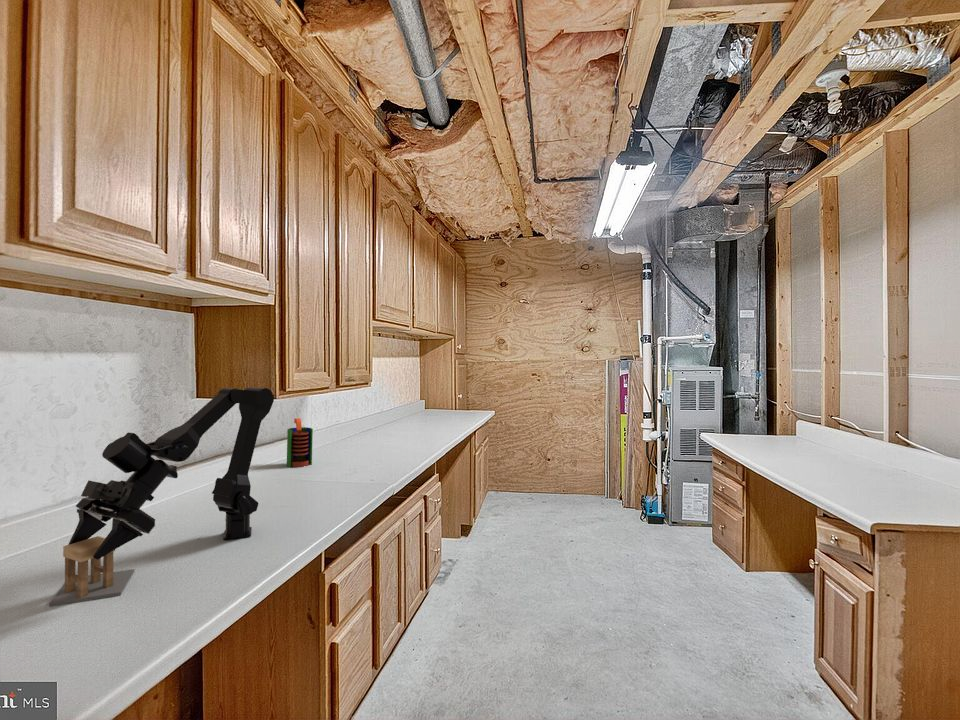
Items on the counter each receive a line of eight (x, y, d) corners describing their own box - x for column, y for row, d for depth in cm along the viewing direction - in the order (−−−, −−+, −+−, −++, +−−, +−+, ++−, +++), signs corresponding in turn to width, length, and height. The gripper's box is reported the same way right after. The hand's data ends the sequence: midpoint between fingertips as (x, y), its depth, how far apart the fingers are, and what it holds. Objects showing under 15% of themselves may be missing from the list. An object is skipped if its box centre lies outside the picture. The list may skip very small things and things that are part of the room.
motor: (293, 468, 199) (294, 421, 199) (281, 465, 204) (282, 419, 204) (314, 464, 207) (315, 418, 207) (303, 461, 213) (303, 416, 212)
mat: (70, 580, 100) (70, 577, 100) (134, 571, 104) (134, 569, 104) (49, 606, 90) (49, 603, 90) (120, 595, 94) (120, 592, 94)
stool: (97, 579, 99) (98, 536, 99) (114, 585, 97) (115, 541, 97) (62, 591, 94) (63, 546, 94) (80, 598, 92) (80, 552, 91)
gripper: (87, 459, 103) (20, 526, 93) (140, 469, 95) (73, 544, 85) (126, 486, 110) (68, 552, 100) (178, 498, 102) (121, 570, 92)
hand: (81, 554), depth 94 cm, fingers open, 9 cm apart
